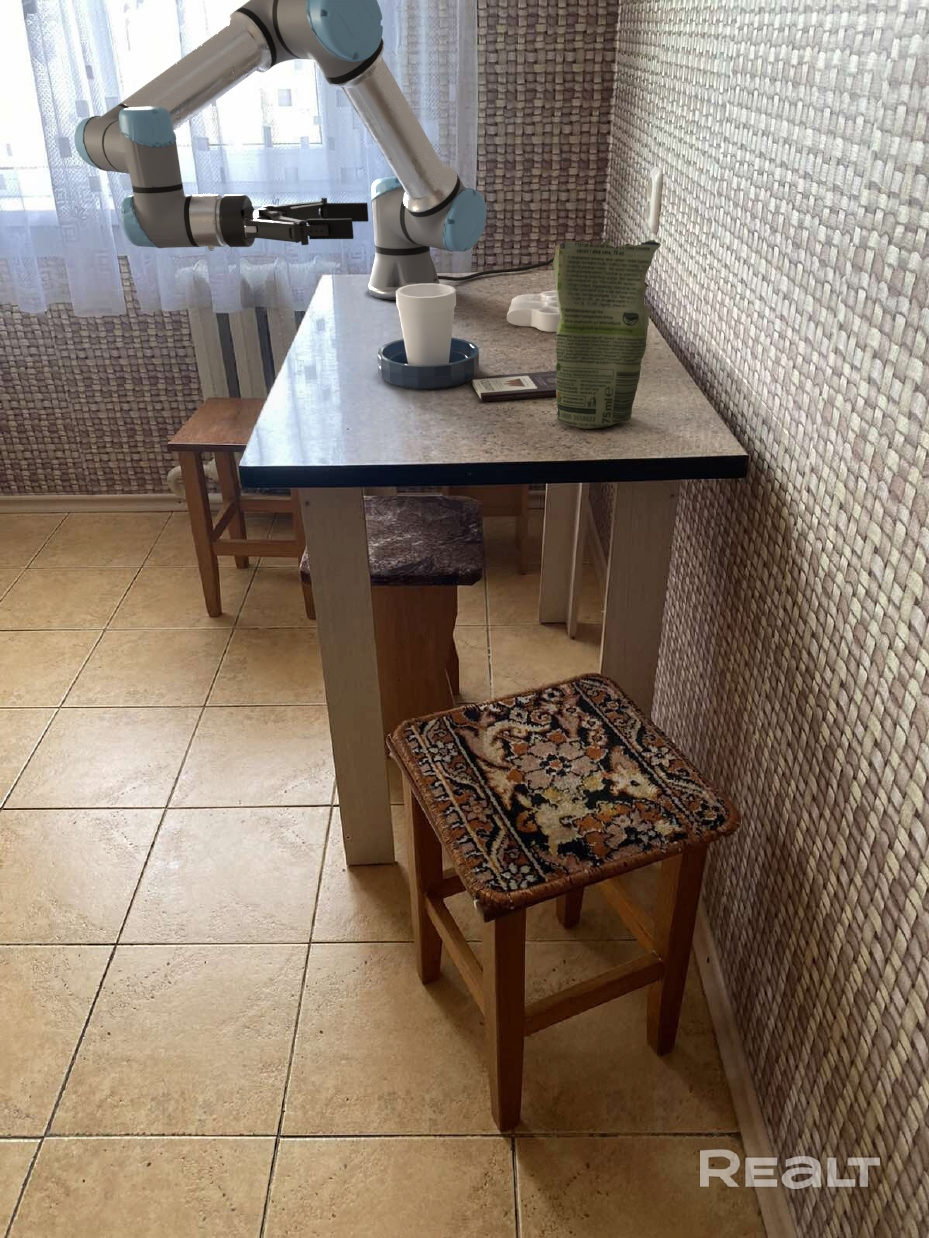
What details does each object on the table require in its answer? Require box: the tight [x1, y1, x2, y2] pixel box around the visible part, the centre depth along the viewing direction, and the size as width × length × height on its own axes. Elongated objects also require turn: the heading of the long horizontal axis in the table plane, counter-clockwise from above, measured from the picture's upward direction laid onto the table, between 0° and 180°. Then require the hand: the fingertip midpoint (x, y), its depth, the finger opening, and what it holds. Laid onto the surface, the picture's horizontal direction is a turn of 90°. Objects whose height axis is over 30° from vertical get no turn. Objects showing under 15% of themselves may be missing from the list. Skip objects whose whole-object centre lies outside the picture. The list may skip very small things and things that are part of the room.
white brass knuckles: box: [506, 289, 560, 333], centre depth 183 cm, size 3×18×15 cm
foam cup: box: [395, 283, 457, 365], centre depth 153 cm, size 10×9×13 cm
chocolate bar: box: [470, 370, 557, 403], centre depth 149 cm, size 9×1×18 cm
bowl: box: [376, 337, 480, 390], centre depth 155 cm, size 17×17×4 cm
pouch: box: [551, 237, 661, 430], centre depth 131 cm, size 11×12×25 cm
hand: (360, 220), depth 144 cm, fingers open, 13 cm apart
